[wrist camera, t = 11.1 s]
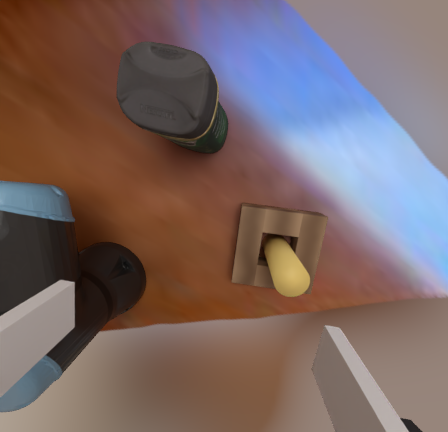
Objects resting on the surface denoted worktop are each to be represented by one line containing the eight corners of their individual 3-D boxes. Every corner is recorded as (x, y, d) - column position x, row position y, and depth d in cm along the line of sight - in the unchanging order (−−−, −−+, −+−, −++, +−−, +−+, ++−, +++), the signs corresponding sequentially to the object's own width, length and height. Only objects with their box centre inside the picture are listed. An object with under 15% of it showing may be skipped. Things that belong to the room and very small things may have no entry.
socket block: (232, 271, 41) (231, 282, 37) (242, 202, 38) (242, 205, 34) (303, 282, 40) (310, 294, 36) (319, 212, 37) (328, 217, 34)
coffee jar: (232, 110, 35) (223, 43, 17) (222, 157, 37) (203, 142, 19) (177, 98, 36) (111, 19, 17) (169, 145, 37) (102, 118, 19)
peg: (260, 252, 40) (270, 294, 26) (264, 230, 39) (276, 261, 25) (283, 256, 40) (306, 299, 26) (287, 234, 39) (313, 267, 25)
